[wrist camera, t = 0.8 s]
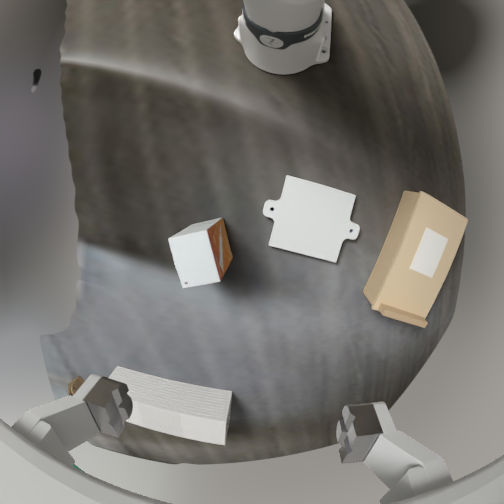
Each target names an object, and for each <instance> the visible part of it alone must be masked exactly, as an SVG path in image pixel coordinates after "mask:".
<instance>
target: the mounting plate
mask: <svg viewBox="0 0 504 504" xmlns="http://www.w3.org/2000/svg"><path fill="white" fill-rule="evenodd" d="M355 197H356V195H353V194H350V193H347V192H344V191H341V190H337V189H334V188H331V187H328V186H324V185H321V184H317V183H314V182H310V181H307V180H303V179H300V178H296V177H292V176H288V175H286V179H285V183H284V187H283V191H282V195H281V198H280V199H279V200H276V201H275V200H267V201H266V202H265V204H264V208H263V214H264V215H265V216H267V217H270V218H272V219H273V220H274V226H273V230H272V234H271V237H270V241H269V246H273V247H277V248H281V249H285V250H288V251H292V252H296V253H300V254H304V255H308V256H312V257H316V258H320V259H324V260H328V261H331V262H335V263H336V261H337V258H338V255H339V252H340V249H341V246H342V242H343V241H344V240H345V239H352V240H354V239H356V238H357V236H358V234H359V230H360V228H359V226H358V225H357V224H356V223H354V222H351V220H350V215H351V212H352V208H353V205H354V201H355ZM271 207H273V208H274V210H271V209H270V208H271ZM350 229H351V231H350Z"/></svg>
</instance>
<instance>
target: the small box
mask: <svg viewBox="0 0 504 504" xmlns="http://www.w3.org/2000/svg"><path fill="white" fill-rule="evenodd" d="M168 241H169V245H170V248H171V252H172V256H173V259H174V264H175V267H176V270H177V272H178V275H179V278H180V281H181V284H182V287H183V289H184V288H189V287H194V286H199V285H205V284H210V283H216V282H220V281H221V280H222V278H223V276H224V274H225V272H226V270H227V268H228V266H229V264H230V262H231V260H232V259H233V255H232V252H231V249H230V245H229V241H228V237H227V233H226V229H225V225H224V220H223V218H218V219H214V220H209V221H205V222H201V223H196V224H193V225H191V226H189V227H187V228H185V229H184V230H182V231H180V232H179V233H177V234H175V235H174V236H172V237H170V238H169V239H168Z"/></svg>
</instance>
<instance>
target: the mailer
mask: <svg viewBox="0 0 504 504" xmlns="http://www.w3.org/2000/svg"><path fill="white" fill-rule="evenodd" d="M418 195H419V193H417V192H411V191H404V192H403V195H402V198H401V200H400V203H399V206H398V209H397V212H396V214H395V217H394V220H393V222H392V225H391V228H390V230H389V233H388V235H387V238H386V240H385V243H384V245H383V248H382V250H381V252H380V255H379V257H378V259H377V262H376V264H375V266H374V268H373V271H372V273H371V275H370V277H369V279H368V282H367V284H366V286H365V288H364V290H363V293H364V295H365V296H366V297H367V299H368V300H369V302H370V303H371V305H373V303H374V301H375V299H376V297H377V295H378V293H379V291H380V289H381V287H382V285H383V283H384V281H385V279H386V276H387V274H388V272H389V270H390V268H391V265H392V263H393V261H394V258H395V256H396V254H397V251H398V249H399V247H400V244H401V242H402V239H403V237H404V234H405V232H406V229H407V226H408V224H409V221H410V218H411V216H412V213H413V210H414V207H415V204H416V201H417V198H418Z"/></svg>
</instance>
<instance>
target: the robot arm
mask: <svg viewBox="0 0 504 504" xmlns="http://www.w3.org/2000/svg"><path fill="white" fill-rule="evenodd" d="M243 1H244V2H243V7H242V8H243V9H242V15H241V16H240V17H239V18H238V25H239V26H238V28H237V29H236V30H235V31H234V37H235V39H236V40H237V41H238V42H239V43H240V44H242V46H243V49H244V52H245V54H246V56H247V58H248V59H249V60H250V61H251V62H252V63H253V64H254V65H255V66H257V67H258V68H260V69H262V70H264V71H266V72H270V73H274V74H293V73H297V72H300V71H303V70H305V69H307V68H308V67H310V66H312V65H314V64H321V63H326V62H327V61H328V60H329V56H330V40H331V19H332V9H331V8H330V7H329V6H328V5H327V4H325V1H324V0H243ZM322 51H324V52H325V53H322ZM128 391H129V389H128V387H127V384H125V383H122V382H119V381H116V380H113V379H110V378H107V377H103V376H100V375H97V374H91V375H90V376H89V377H88V379H87V380H86V381H85V382H84V383H83V384H82V386H81V387H80V388H79V389H78V390H77V391H76V393H75V394H74V395H73V396H71V395H69V396H66V397H63V398H61V399H58V400H55V401H52V402H49V403H46V404H43V405H41V406H37V407H34V408H31V409H28V410H26V411H25V413H24V414H23V415H22V416H21V417H20V418H19V419H18V420H17V422H16V423H15V424H14V425H13V426H12V427H10V426H9V425H8V424H6V423H5V422H4V421H2V420H1V419H0V504H171V503H167V502H163V501H159V500H156V499H152V498H149V497H146V496H142V495H139V494H136V493H133V492H130V491H128V490H125V489H122V488H120V487H117V486H114V485H112V484H110V483H107V482H105V481H102V480H100V479H98V478H95V477H93V476H91V475H89V474H87V473H85V472H83V471H81V470H79V469H77V468H75V467H73V465H74V463H75V461H74V459H73V457H72V456H71V455H70V454H69V452H68V451H70V450H72V449H73V448H75V447H77V446H79V445H80V444H82V443H84V442H85V441H87V440H89V439H91V438H92V437H94V436H96V435H97V434H99V433H100V432H103V433H106V434H109V435H111V436H114V437H119V436H120V434H121V432H122V430H123V429H124V427H125V426H124V421H126V420H128V419H129V418H130V416H131V414H132V410H133V402H132V399H131V397H130V396H129V395H128V394H127V392H128ZM342 414H343V417H342V418H340V419H339V421H338V424H337V431H336V433H337V441H338V442H339V443H340V444H341V445H342V446H341V448H340V450H339V452H340V457H341V462H342V463H352V462H353V463H354V462H363V461H364V462H363V463H364V464H365V465H366V466H367V467H368V468H369V469H370V470H371V471H372V472H373V473H374V474H375V475H376V476H377V477H378V478H379V479H380V480H381V481H382V482H383V483H384V484H385V485H386V486H388V488H390V490H389V491H388V492H387V493H386V494H385V495H384V496H383V498H381V500H380V503H381V504H504V455H503V456H501V457H500V458H498V459H496V460H495V461H493V462H491V463H489V464H488V465H486V466H484V467H482V468H480V469H478V470H476V471H474V472H472V473H470V474H468V475H467V476H464V477H462V478H460V479H458V480H456V481H453V480H452V478H451V475H450V473H449V471H448V468H447V466H446V464H445V462H444V460H443V458H442V457H441V456H439V455H437V454H436V453H434V452H432V451H431V450H429V449H428V448H426V447H425V446H423V445H422V444H420V443H419V442H417V441H415V440H414V439H412V438H411V437H409V436H408V435H406V434H405V433H403V432H401V431H397V430H396V427H395V425H394V423H393V420H392V418H391V415H390V413H389V411H388V409H387V406H386V404H385V403H384V402H383V401H382V402H374V403H364V404H353V405H345V407H344V408H343V411H342Z"/></svg>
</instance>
